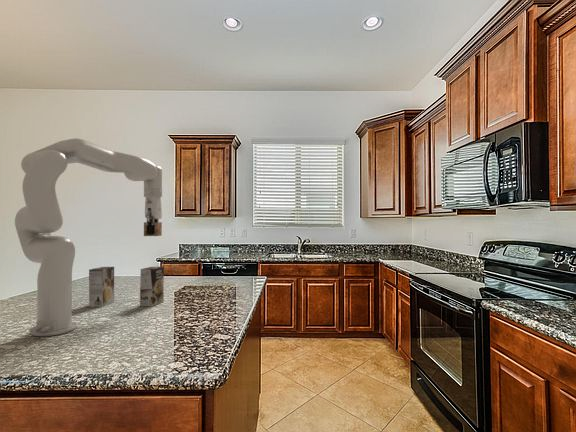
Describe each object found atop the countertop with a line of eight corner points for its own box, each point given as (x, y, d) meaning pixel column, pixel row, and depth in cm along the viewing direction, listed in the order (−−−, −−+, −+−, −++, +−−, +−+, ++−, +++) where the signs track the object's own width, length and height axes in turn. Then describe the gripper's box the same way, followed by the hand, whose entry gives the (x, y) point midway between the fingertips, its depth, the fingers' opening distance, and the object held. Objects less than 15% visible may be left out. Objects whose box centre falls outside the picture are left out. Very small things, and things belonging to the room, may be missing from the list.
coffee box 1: (100, 301, 152) (101, 266, 152) (114, 301, 152) (114, 266, 152) (88, 306, 143) (88, 269, 143) (103, 306, 143) (103, 269, 143)
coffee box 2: (153, 306, 143) (153, 269, 143) (139, 306, 144) (139, 268, 144) (164, 301, 152) (164, 266, 152) (151, 301, 153) (151, 266, 153)
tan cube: (158, 236, 146) (158, 222, 146) (143, 236, 145) (143, 222, 145) (161, 235, 152) (161, 222, 152) (147, 235, 151) (148, 222, 151)
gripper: (156, 192, 141) (156, 234, 140) (166, 195, 158) (166, 233, 158) (137, 192, 140) (137, 235, 140) (149, 195, 157) (149, 233, 157)
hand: (152, 233), depth 149 cm, fingers closed on tan cube, 5 cm apart
